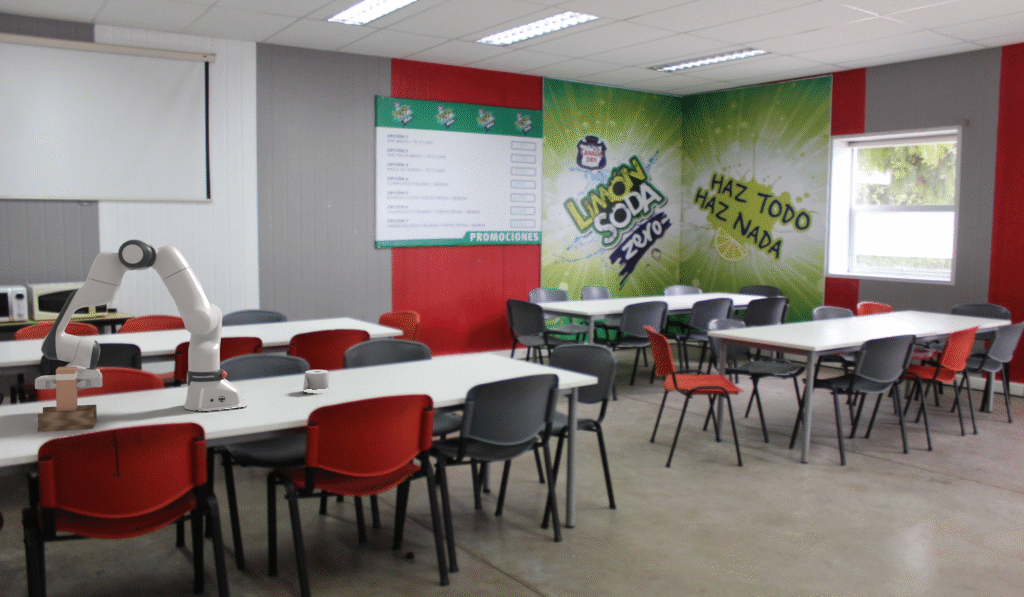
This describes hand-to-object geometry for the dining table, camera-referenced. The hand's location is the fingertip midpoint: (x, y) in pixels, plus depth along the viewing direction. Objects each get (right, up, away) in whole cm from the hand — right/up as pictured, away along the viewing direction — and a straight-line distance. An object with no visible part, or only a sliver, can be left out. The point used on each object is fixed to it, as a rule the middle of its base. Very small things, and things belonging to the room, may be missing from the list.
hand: (66, 386), depth 263 cm
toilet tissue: (+66, -10, +66) cm, 94 cm away
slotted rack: (-1, -14, +2) cm, 14 cm away
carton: (-1, -8, +2) cm, 8 cm away
